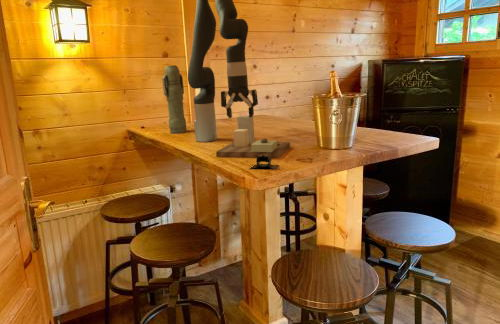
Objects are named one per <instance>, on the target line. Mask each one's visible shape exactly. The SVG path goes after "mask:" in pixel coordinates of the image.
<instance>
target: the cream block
mask: <svg viewBox="0 0 500 324" xmlns="http://www.w3.org/2000/svg"><path fill="white" fill-rule="evenodd" d="M232 135H233V142H234V147H248V146H249V137H248V129H238V128H237V129H235V130H233V134H232Z"/></svg>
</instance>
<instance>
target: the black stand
mask: <svg viewBox="0 0 500 324" xmlns="http://www.w3.org/2000/svg"><path fill="white" fill-rule="evenodd" d="M255 161H256V164H253V165H254V166H253V167H251V166H250V167H251V168H250V167H249V168H250V169H249V170H274V171H276V170H278V169H279V168H280V166H281V165H280V164H272V158H271V157H270V154H259V155H258V156H257V158H256V160H255Z"/></svg>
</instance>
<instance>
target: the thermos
mask: <svg viewBox="0 0 500 324" xmlns="http://www.w3.org/2000/svg"><path fill="white" fill-rule="evenodd" d="M161 81H162V87H163V89H162V90H163V95H164V96H165V100H166V102H167V109H168V117H169V118H168V127H169V131H170V132H169V133H170V134H172V135H173V134H174V135H175V134H176V135H177V134H184V133H187V121H186V118H185V110H184V94H185V90H184V79H183V74H181V73H180V69H179V67H178V66H177V65H176V64H175V65H167V66H165V68H164V75H163V76H162V79H161Z"/></svg>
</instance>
